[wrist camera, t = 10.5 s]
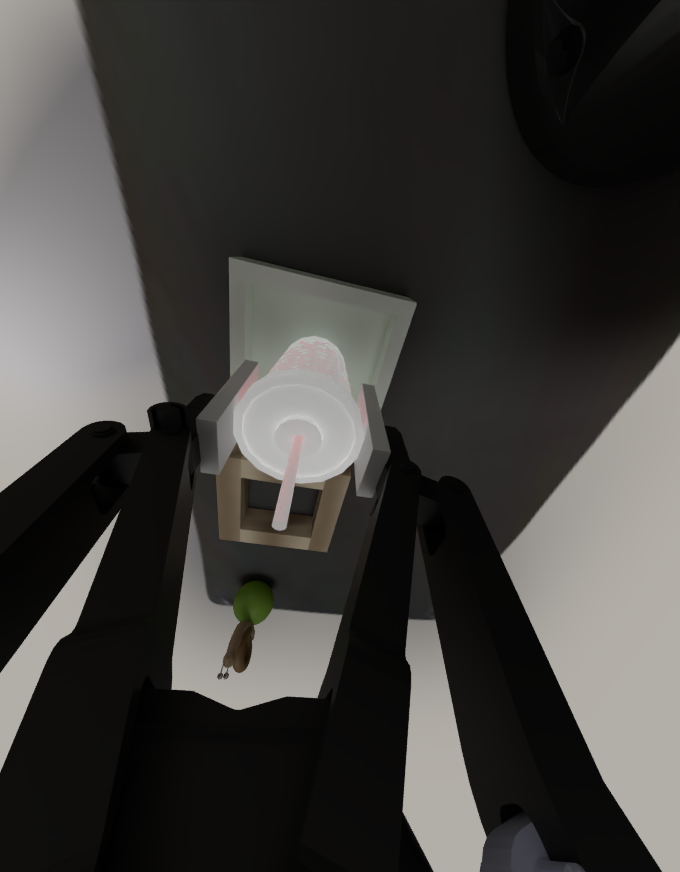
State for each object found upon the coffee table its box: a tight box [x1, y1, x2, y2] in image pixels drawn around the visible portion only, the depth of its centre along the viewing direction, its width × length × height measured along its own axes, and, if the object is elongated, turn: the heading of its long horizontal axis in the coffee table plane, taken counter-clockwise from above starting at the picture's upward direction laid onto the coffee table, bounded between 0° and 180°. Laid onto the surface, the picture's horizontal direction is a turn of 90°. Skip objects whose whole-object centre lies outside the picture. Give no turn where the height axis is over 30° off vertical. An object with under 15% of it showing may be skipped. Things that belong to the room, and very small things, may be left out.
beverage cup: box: [233, 336, 364, 531], centre depth 14 cm, size 6×6×14 cm
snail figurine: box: [217, 581, 274, 679], centre depth 36 cm, size 5×6×12 cm
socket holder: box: [216, 442, 351, 552], centre depth 29 cm, size 12×12×3 cm
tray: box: [229, 256, 417, 411], centre depth 21 cm, size 12×12×2 cm
